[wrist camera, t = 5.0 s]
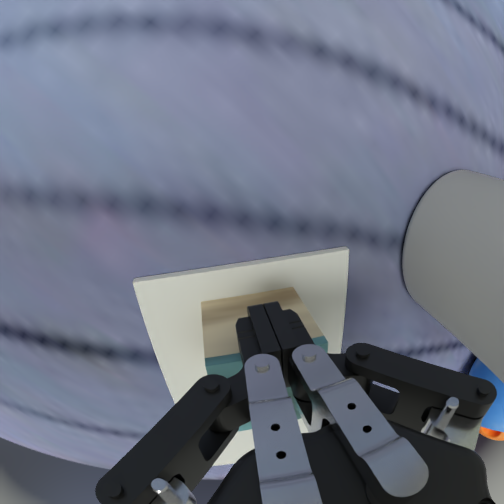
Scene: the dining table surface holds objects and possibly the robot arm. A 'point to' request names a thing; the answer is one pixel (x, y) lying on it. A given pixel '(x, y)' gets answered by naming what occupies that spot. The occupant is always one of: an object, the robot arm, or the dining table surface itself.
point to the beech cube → (225, 337)
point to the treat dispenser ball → (500, 413)
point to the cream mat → (230, 285)
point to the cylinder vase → (461, 261)
